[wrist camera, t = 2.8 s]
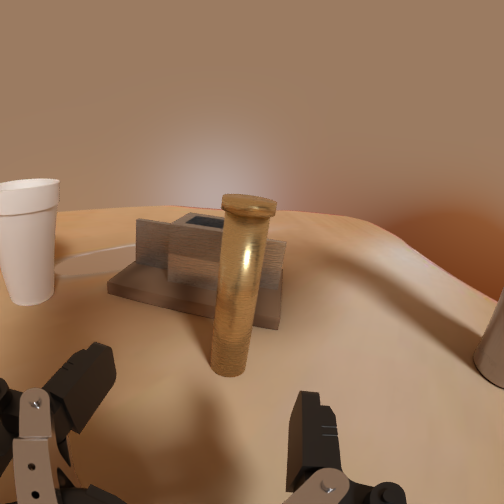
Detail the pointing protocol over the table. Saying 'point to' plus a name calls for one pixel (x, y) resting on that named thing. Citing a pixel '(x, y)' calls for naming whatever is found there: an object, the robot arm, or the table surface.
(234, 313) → the brass capped peg
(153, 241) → the grey winged socket holder
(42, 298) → the foam cup
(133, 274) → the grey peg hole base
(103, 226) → the table surface
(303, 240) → the table surface
